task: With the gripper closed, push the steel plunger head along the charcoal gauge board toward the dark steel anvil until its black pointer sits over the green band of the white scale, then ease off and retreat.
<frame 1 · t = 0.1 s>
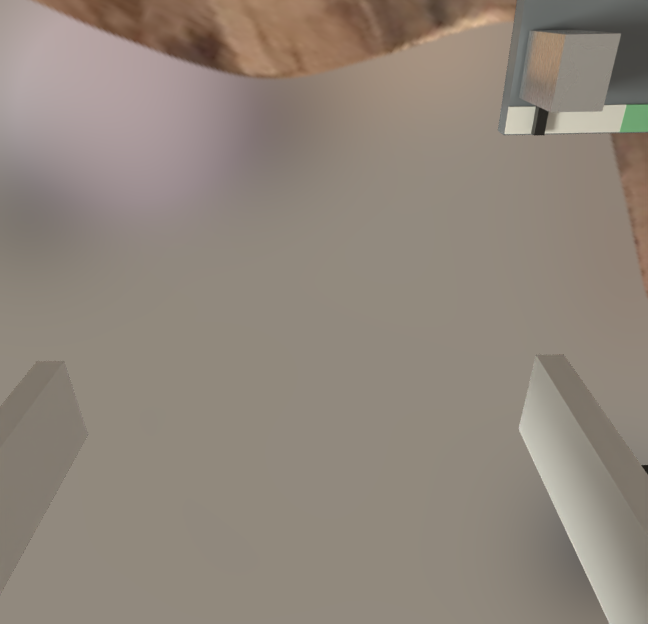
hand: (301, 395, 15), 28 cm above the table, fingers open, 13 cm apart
gauge base: (639, 60, 36), on the table
plunger: (560, 89, 32), point 5 cm above the table, slide at 0.0 cm
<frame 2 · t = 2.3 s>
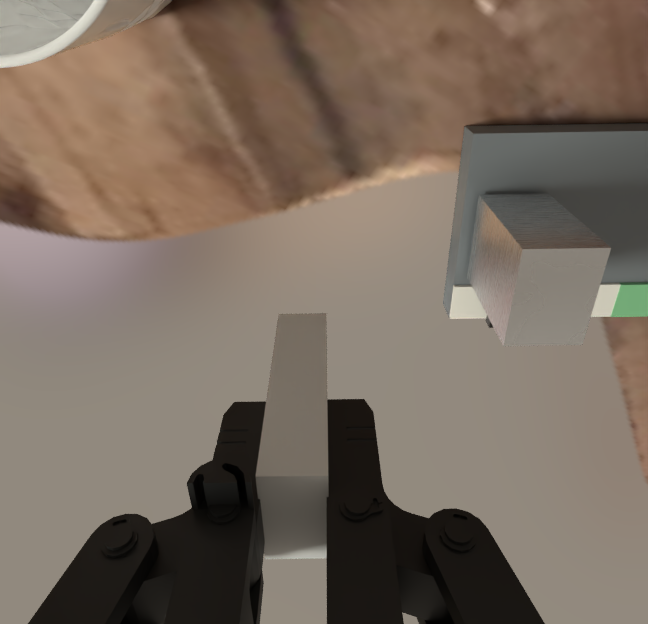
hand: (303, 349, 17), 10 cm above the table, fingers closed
gauge base: (639, 220, 25), on the table
plunger: (521, 289, 22), point 5 cm above the table, slide at 0.0 cm
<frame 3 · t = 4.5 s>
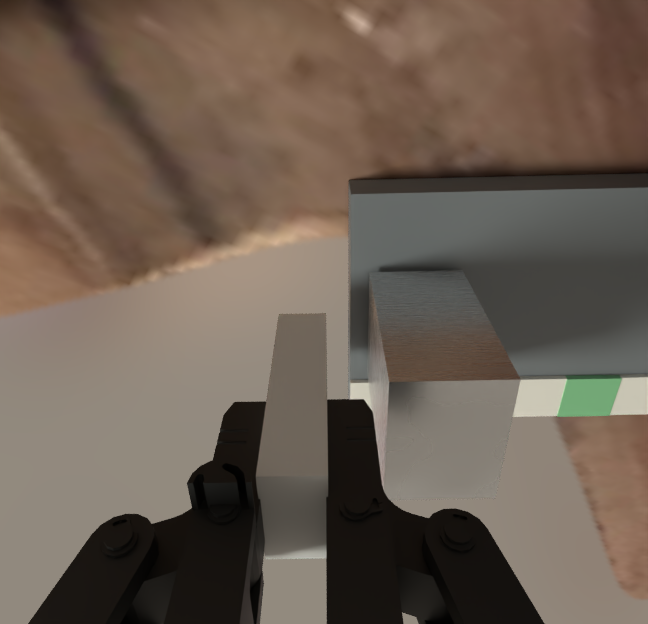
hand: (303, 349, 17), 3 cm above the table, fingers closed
gauge base: (590, 294, 19), on the table
plunger: (423, 404, 16), point 5 cm above the table, slide at 0.1 cm, touching gripper
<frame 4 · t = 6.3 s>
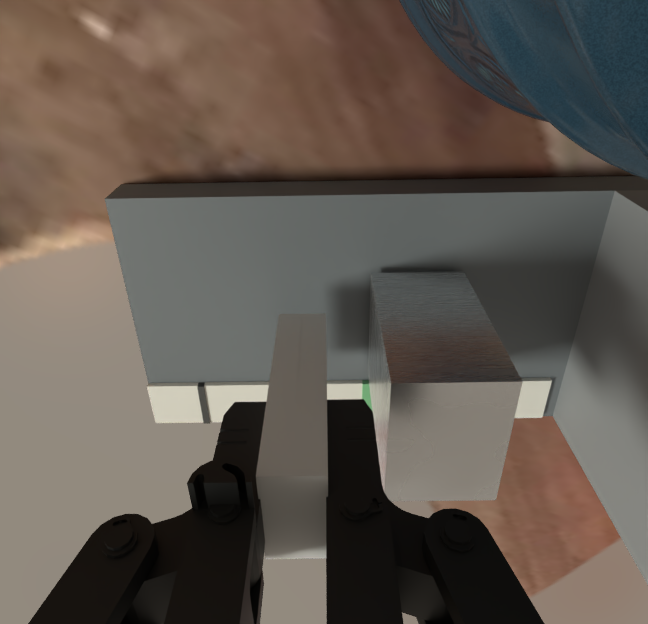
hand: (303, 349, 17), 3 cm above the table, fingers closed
gauge base: (387, 299, 19), on the table
plunger: (424, 405, 16), point 5 cm above the table, slide at 7.7 cm, touching gripper
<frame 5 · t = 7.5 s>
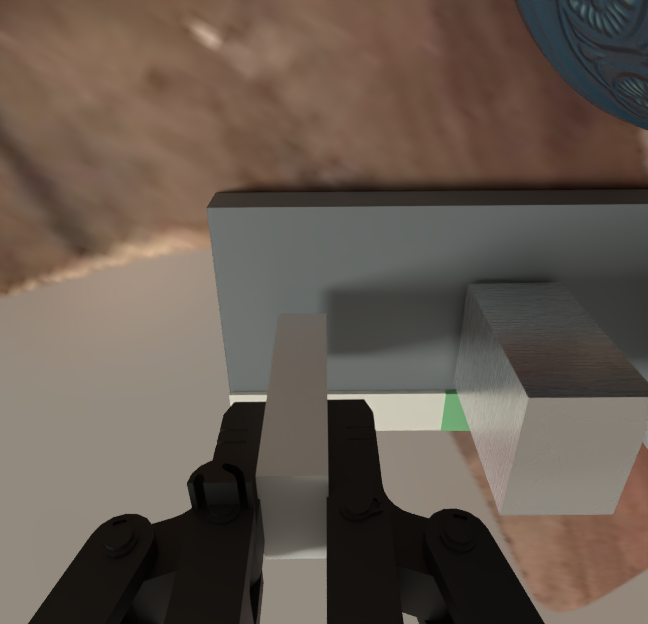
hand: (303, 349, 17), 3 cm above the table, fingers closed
gauge base: (471, 309, 19), on the table
plunger: (526, 417, 16), point 5 cm above the table, slide at 7.7 cm
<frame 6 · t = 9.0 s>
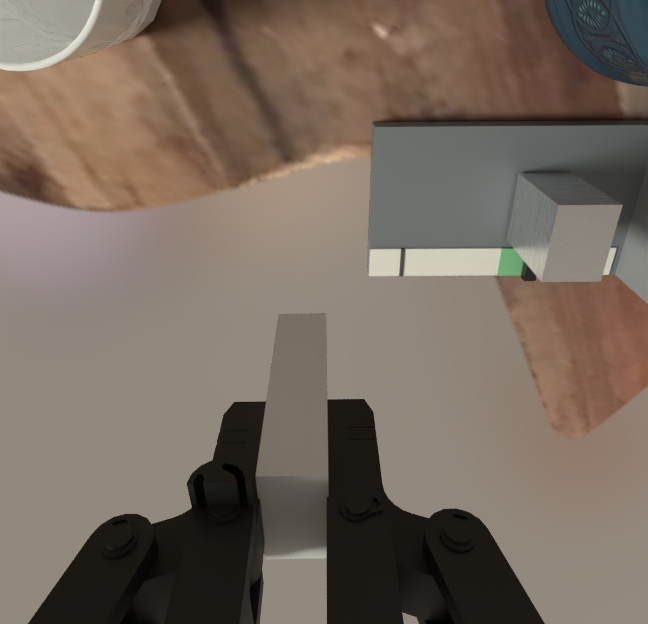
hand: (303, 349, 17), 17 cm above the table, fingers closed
gauge base: (516, 198, 32), on the table
plunger: (552, 244, 28), point 5 cm above the table, slide at 7.7 cm
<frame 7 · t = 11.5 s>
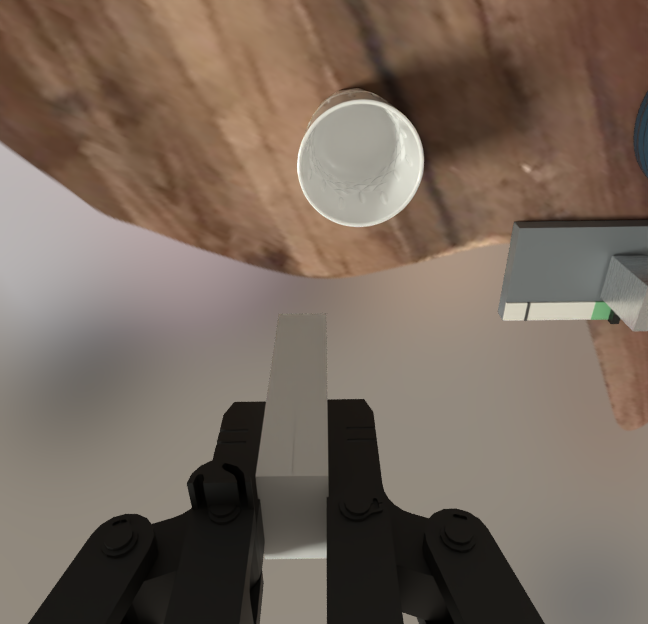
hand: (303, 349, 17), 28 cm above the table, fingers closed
white cup: (352, 133, 41), on the table
gauge base: (605, 267, 47), on the table
plunger: (636, 304, 43), point 5 cm above the table, slide at 7.7 cm
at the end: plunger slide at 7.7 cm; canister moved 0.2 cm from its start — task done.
